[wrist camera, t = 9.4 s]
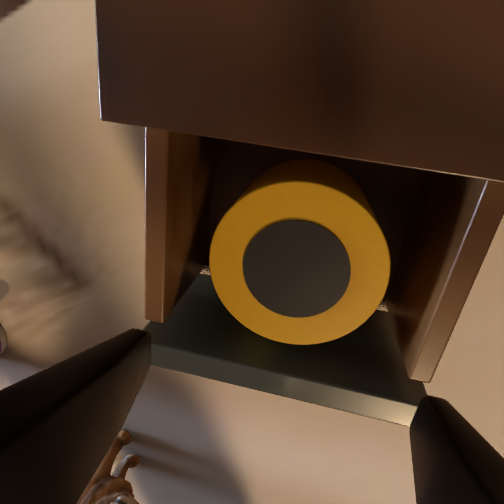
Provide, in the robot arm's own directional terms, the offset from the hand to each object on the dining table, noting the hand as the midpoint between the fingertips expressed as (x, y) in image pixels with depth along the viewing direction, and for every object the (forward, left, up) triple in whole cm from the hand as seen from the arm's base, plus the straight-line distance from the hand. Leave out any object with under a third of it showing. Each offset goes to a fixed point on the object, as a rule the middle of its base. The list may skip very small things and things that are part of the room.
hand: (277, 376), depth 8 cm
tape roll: (0, 0, -10) cm, 10 cm away
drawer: (0, -1, -11) cm, 11 cm away
